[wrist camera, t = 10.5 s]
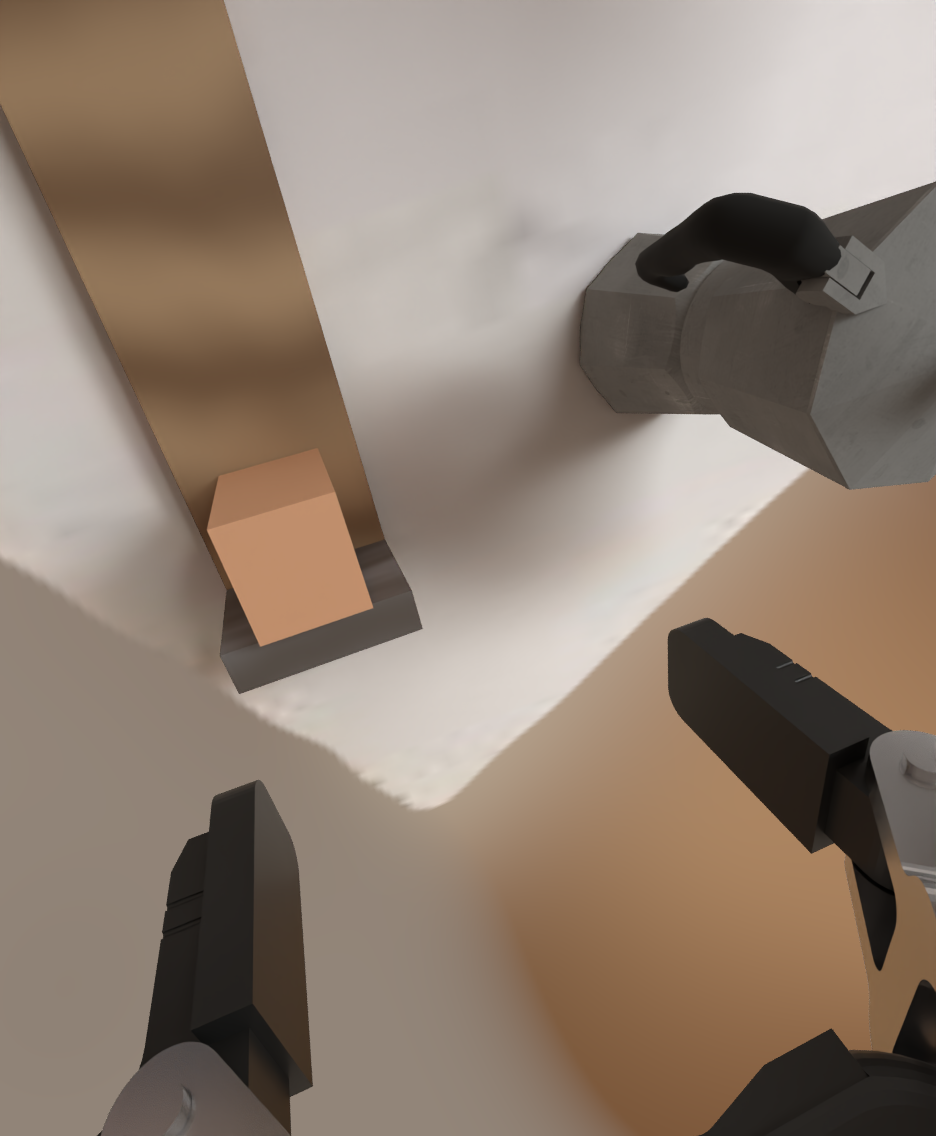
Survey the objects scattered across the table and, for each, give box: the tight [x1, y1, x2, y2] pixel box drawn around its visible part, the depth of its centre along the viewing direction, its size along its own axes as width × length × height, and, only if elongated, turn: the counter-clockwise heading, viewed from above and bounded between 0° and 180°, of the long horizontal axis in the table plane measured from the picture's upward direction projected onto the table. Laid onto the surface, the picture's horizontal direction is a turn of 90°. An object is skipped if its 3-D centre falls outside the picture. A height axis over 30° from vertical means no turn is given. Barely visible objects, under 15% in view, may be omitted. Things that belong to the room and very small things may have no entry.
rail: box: [0, 0, 423, 694], centre depth 22 cm, size 24×8×7 cm, turn 12°
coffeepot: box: [580, 182, 936, 489], centre depth 23 cm, size 15×9×18 cm, turn 66°
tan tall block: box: [207, 448, 373, 647], centre depth 24 cm, size 5×4×7 cm
